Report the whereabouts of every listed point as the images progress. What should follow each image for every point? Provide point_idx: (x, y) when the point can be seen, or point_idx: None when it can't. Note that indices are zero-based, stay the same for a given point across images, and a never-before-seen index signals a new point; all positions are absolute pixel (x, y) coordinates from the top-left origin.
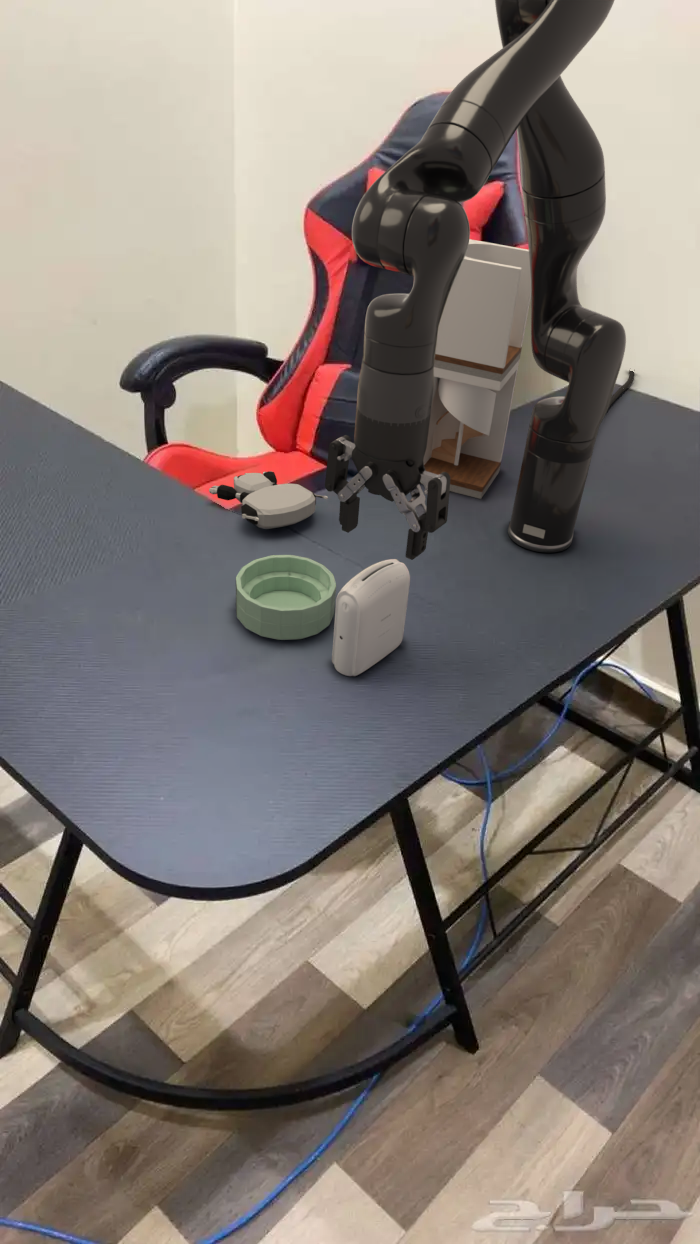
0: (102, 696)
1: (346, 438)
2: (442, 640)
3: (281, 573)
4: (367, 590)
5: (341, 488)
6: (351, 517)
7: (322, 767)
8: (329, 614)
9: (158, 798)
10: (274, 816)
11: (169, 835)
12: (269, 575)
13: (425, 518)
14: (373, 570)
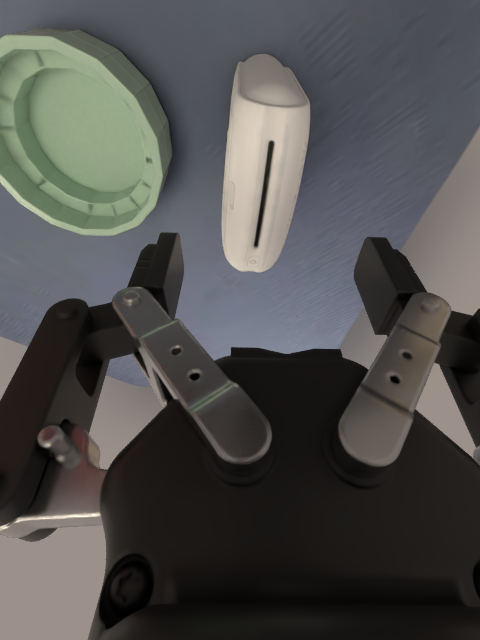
0: None
1: (3, 521)
2: None
3: (6, 83)
4: (274, 254)
5: (125, 351)
6: (177, 282)
7: (305, 305)
8: (164, 129)
9: None
10: (298, 347)
11: None
12: (5, 108)
13: (438, 354)
14: (257, 215)
